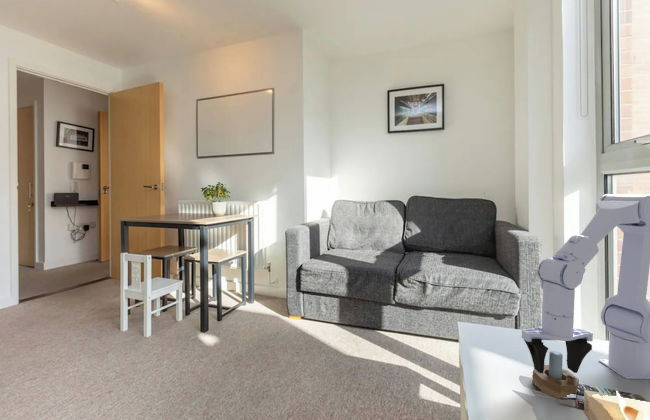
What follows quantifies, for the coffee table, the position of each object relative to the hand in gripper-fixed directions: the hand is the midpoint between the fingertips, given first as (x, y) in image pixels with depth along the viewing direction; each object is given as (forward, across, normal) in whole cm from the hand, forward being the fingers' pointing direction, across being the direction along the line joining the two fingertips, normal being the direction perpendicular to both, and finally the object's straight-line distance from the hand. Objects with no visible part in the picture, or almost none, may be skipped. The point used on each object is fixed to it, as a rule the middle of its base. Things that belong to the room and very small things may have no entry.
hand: (555, 370), depth 71 cm
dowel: (+4, 0, 0) cm, 4 cm away
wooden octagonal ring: (+4, 0, 0) cm, 4 cm away
